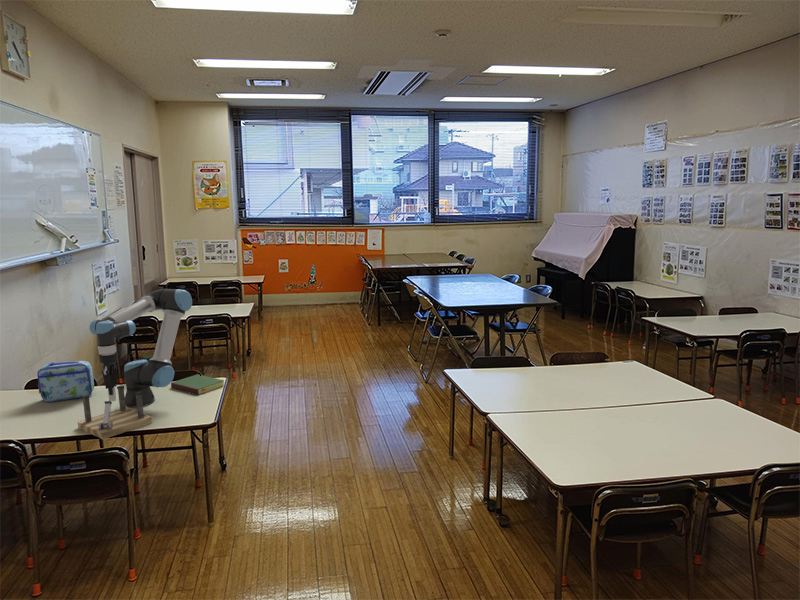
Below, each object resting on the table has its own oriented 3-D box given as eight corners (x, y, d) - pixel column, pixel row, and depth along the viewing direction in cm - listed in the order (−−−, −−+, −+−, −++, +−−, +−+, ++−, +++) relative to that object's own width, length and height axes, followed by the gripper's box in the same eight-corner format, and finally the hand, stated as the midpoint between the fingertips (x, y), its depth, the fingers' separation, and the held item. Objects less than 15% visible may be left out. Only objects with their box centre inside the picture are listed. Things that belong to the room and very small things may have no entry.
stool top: (78, 427, 268) (74, 396, 265) (126, 412, 287) (123, 383, 284) (102, 439, 254) (99, 406, 251) (152, 422, 273) (149, 391, 270)
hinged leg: (109, 428, 259) (107, 428, 257) (103, 429, 258) (101, 428, 256) (112, 402, 264) (110, 401, 261) (106, 402, 263) (104, 401, 261)
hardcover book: (171, 388, 325) (170, 382, 325) (198, 380, 341) (197, 374, 340) (198, 395, 312) (198, 389, 311) (225, 386, 328) (225, 380, 327)
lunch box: (38, 404, 301) (33, 367, 298) (44, 397, 311) (39, 362, 308) (92, 398, 309) (87, 362, 306) (95, 392, 319) (91, 357, 316)
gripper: (104, 350, 270) (109, 396, 274) (94, 357, 257) (99, 405, 261) (120, 349, 271) (125, 395, 275) (111, 356, 258) (116, 404, 262)
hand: (112, 400), depth 268 cm, fingers closed
